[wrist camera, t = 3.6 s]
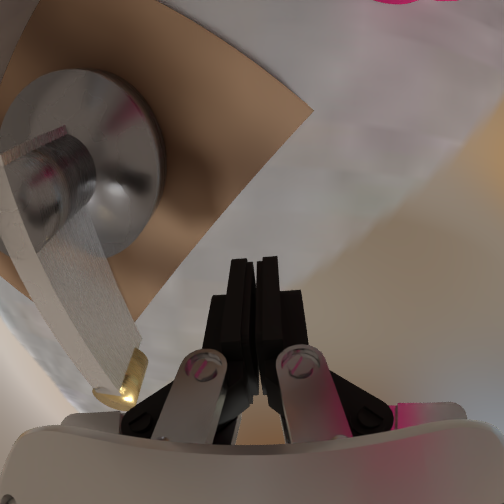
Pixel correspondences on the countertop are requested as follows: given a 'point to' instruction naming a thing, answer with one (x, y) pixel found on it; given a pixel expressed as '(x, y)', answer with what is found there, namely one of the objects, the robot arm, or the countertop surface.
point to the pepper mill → (403, 1)
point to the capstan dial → (81, 213)
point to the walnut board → (164, 117)
